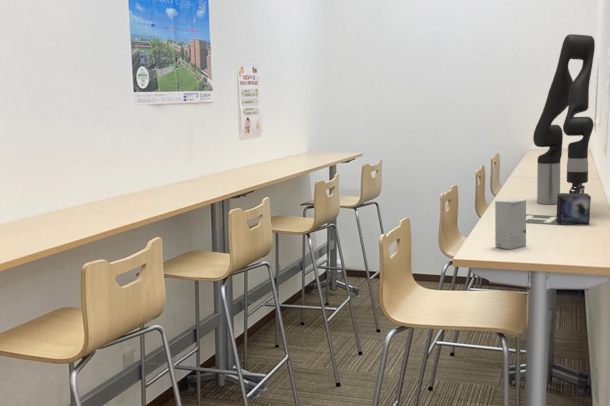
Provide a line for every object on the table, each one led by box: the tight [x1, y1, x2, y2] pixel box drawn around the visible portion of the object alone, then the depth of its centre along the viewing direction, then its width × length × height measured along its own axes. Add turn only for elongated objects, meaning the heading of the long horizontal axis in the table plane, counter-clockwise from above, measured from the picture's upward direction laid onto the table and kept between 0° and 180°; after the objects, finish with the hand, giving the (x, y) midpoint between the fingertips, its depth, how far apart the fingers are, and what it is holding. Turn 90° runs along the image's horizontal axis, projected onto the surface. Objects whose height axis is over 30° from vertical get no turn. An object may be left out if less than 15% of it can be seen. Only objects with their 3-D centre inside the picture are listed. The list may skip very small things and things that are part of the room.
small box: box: [556, 192, 592, 226], centre depth 252 cm, size 11×6×10 cm, turn 80°
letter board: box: [526, 213, 562, 226], centre depth 263 cm, size 17×20×1 cm
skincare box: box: [494, 198, 527, 250], centre depth 219 cm, size 8×6×15 cm
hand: (576, 214), depth 267 cm, fingers closed on blue cube, 5 cm apart
